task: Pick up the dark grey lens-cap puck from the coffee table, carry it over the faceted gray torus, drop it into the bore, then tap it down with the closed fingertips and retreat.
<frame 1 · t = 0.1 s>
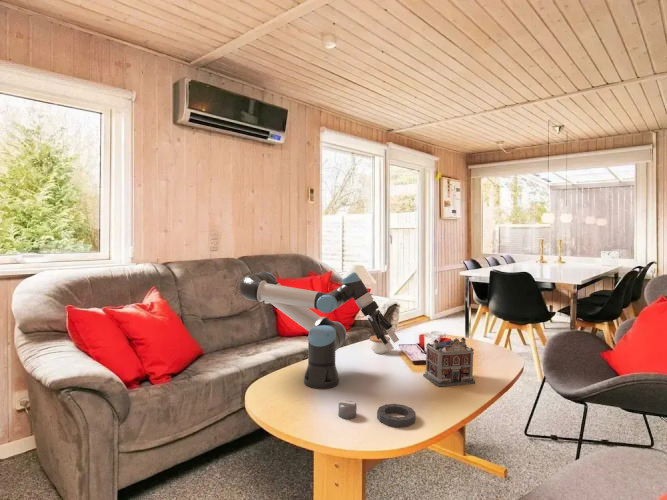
hand: (394, 345, 188), 15 cm above the table, tool tilted 35°, fingers open, 13 cm apart
faceted gray torus: (396, 418, 151), on the table
model building: (448, 380, 191), on the table
cap: (347, 415, 154), on the table
lidded jar: (379, 352, 230), on the table
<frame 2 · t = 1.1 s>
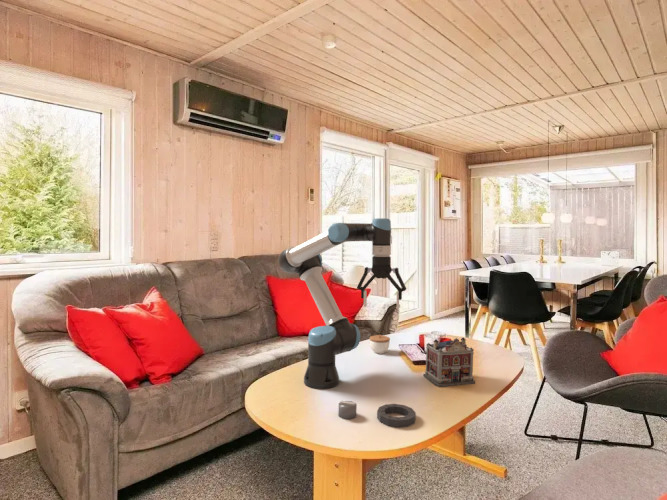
hand: (381, 307, 178), 34 cm above the table, tool pointing down, fingers open, 13 cm apart
nothing on the table moved.
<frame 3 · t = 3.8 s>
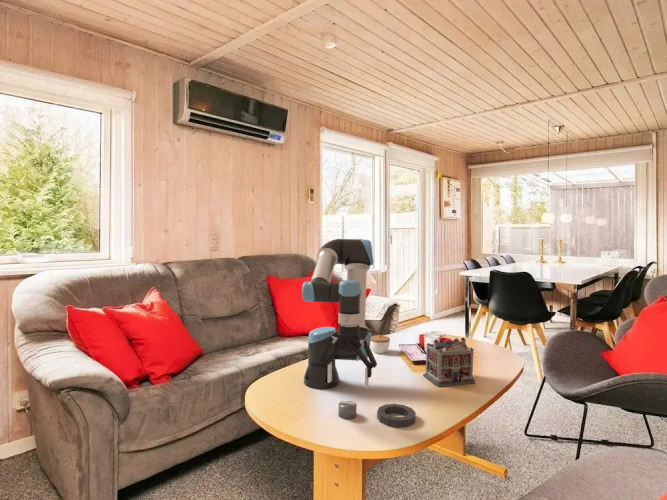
hand: (347, 383, 153), 12 cm above the table, tool pointing down, fingers open, 13 cm apart
nothing on the table moved.
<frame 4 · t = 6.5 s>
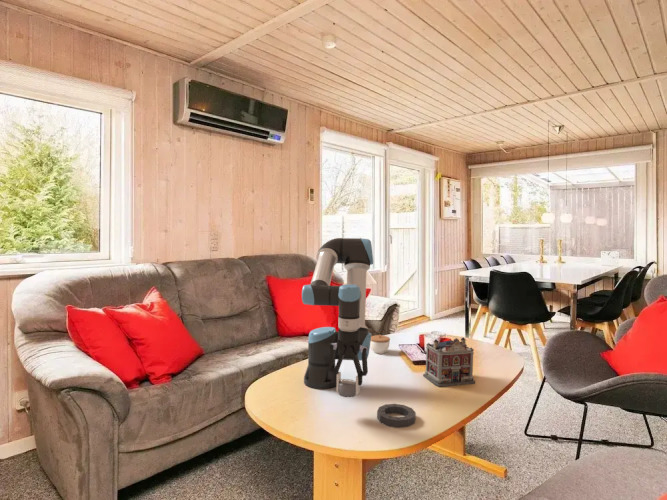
hand: (347, 391, 154), 8 cm above the table, tool pointing down, fingers closed on cap, 6 cm apart
cap: (347, 393, 153), point 8 cm above the table, touching gripper
everything else where it was.
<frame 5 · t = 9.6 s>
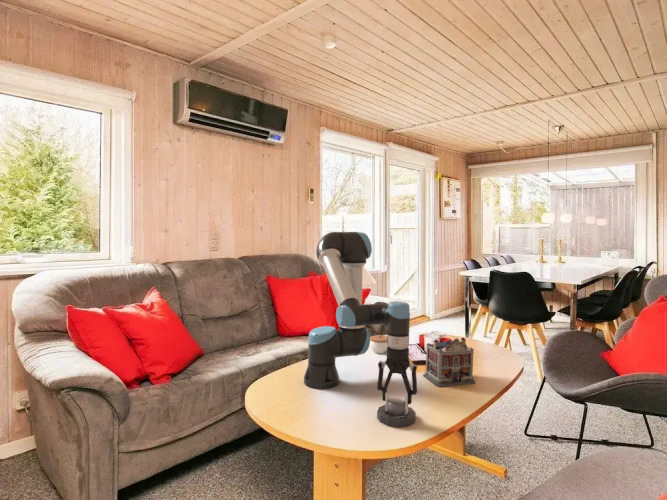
hand: (396, 411, 151), 3 cm above the table, tool pointing down, fingers closed on cap, 6 cm apart
cap: (396, 412, 151), point 2 cm above the table, touching gripper
everything else where it was.
when the fingers open (3 cm above the table, at t = 10.9 s): cap drops 2 cm, resting in faceted gray torus.
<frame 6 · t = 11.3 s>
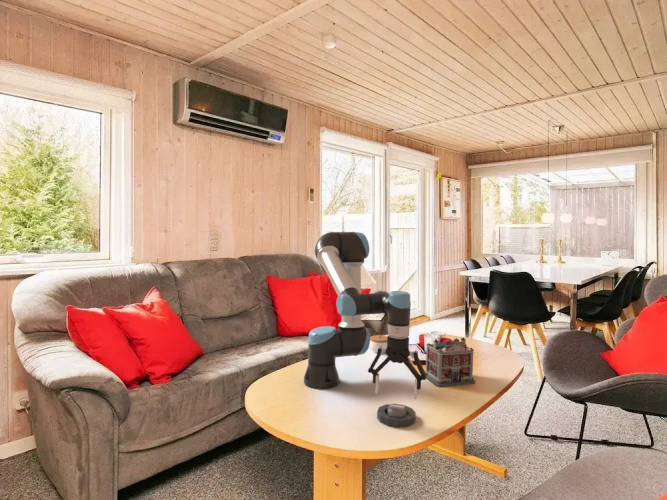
hand: (396, 395, 151), 8 cm above the table, tool pointing down, fingers open, 13 cm apart
cap: (396, 419, 151), resting in faceted gray torus
everything else where it was.
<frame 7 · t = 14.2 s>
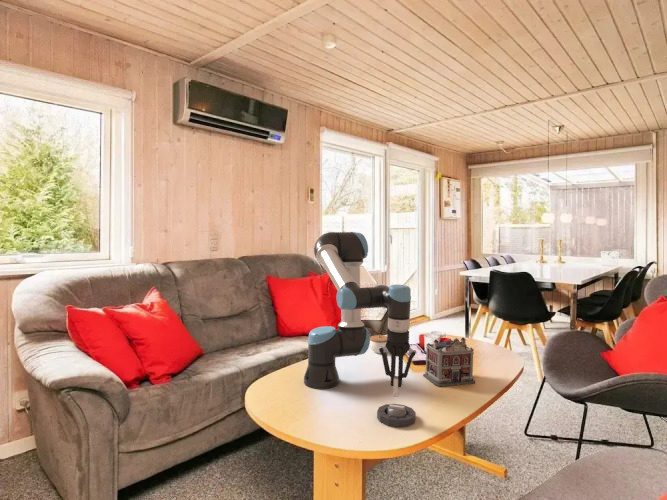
hand: (395, 395, 152), 8 cm above the table, tool pointing down, fingers closed
nothing on the table moved.
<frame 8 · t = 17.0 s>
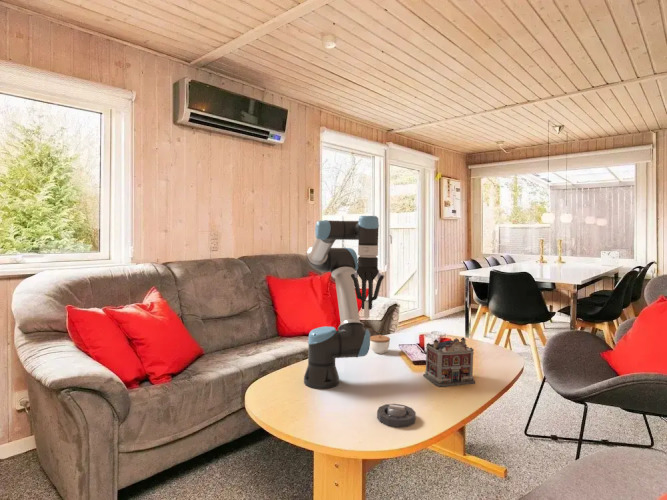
hand: (366, 317, 165), 32 cm above the table, tool pointing down, fingers closed
nothing on the table moved.
at the end: cap 0.4 cm off-centre on the faceted gray torus, point 0.0 cm above the faceted gray torus's base; cap tilted 0° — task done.
